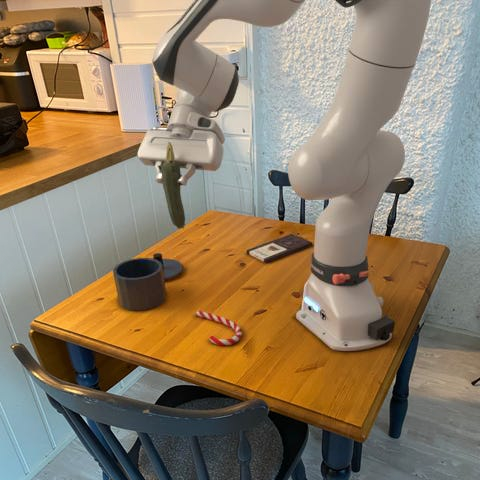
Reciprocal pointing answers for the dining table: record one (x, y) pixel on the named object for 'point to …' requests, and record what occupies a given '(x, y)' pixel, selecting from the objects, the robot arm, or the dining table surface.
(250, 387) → the dining table surface
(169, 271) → the lid
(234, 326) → the candy cane
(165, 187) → the vegetable
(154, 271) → the dark grey pot
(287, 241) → the chocolate bar
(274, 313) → the dining table surface
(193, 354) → the dining table surface
